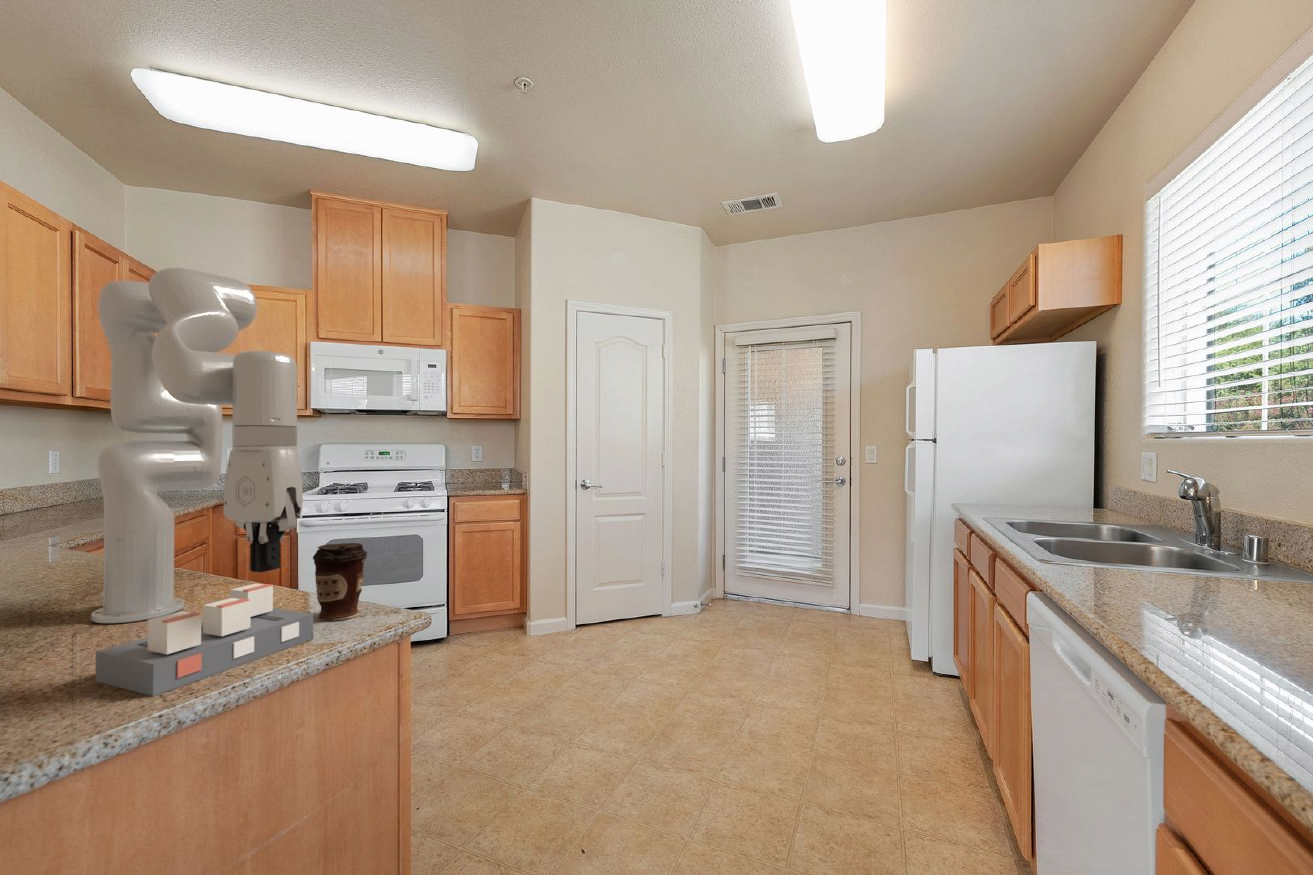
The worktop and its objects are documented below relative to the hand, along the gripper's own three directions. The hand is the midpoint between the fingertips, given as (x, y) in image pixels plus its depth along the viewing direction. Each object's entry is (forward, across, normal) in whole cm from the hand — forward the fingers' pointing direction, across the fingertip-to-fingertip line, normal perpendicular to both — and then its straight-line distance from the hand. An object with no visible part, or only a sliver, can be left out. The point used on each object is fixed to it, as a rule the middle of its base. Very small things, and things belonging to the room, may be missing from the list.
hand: (265, 569), depth 80 cm
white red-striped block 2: (+9, -13, +7) cm, 18 cm away
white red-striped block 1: (+9, -8, 0) cm, 12 cm away
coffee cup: (+14, -11, +21) cm, 28 cm away
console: (+14, -11, 0) cm, 17 cm away
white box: (+9, -8, -7) cm, 14 cm away
